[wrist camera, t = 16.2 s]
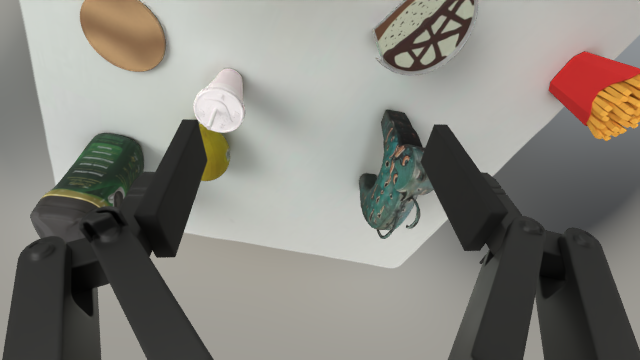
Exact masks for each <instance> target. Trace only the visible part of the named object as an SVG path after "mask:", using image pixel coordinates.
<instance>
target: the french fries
mask: <svg viewBox="0 0 640 360" xmlns="http://www.w3.org/2000/svg"><path fill="white" fill-rule="evenodd" d="M549 91H550V92H551V93H552V94H553V95H554V96H555V97H556V98H557V99H558V100H559V101H560V102H561V103H562V104H563V105H564V106H565V107H566V108H567V109H569V110H570V111H571V112H572V113H573V114H574V115H575V116H576V117H577V118H578V119H579V120H580V121H581V122H582V123H583V124H584V125H586V126H588V127H589V129H590V130H591V132H592V134H593V135H594V137H595V138H598V139H602V138H603V139H604V140H605V141H608V140H610V139H611V138H610V135H613V136H615V137H617V136H618V135H619V134H620V133H621V134H623V133H624V132H626V131H627V130H626V129H625V128H624V127H623V126H625V127H629V126H631V127H633V128H636V127H637V126H638V124H637V123H638V122H640V69H639V68H636V67H633V66H630V65H626V64H623V63H620V62H617V61H614V60H610V59H607V58H604V57H601V56H597V55H594V54H591V53H588V52H585V51H584V52H582V53H580V54H578V55H576V56H574V57H573V58H572V59H571V60H570V61H569V62H568V63H567V64H566V65H565V66H564V67H563V68H562V69H561V71H560V72H559V73H558V74H557V75H556V76H555V77H554V79H553V80H552V81H551V82H550V87H549ZM632 115H633V116H632ZM636 118H637V119H636ZM620 124H621V125H620ZM622 125H623V126H622ZM619 132H620V133H619Z"/></svg>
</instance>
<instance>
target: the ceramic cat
mask: <svg viewBox="0 0 640 360" xmlns="http://www.w3.org/2000/svg"><path fill="white" fill-rule="evenodd" d="M381 126H382V132H383V137H384V156H383V163H382V167H381V170H380V173H379V176H378V178H377V176H376V175H375V174H363V175H362V176H361V178H360V180H359V187H360V201H361V208H362V212H363V215H364V217H365V219H366V221H367V222H368V224H369V225H370V226H371V227H372V228H374V229H377V232H378V234H379V236H380V237H381V238H382V239H386V238H387V237H389V236H390V235H391V233H392V232H393V231H394V229H396V228H397V227H399V225H400V224H401V223H402V222H403V221H404V220H405V219H406V218H407V216H408V215H409V213H410V211H411V209H412V208H413V206H414V203H415V205H416V207H417V213H416V218H415V221H414V222H413V223H412V224H411V225H410V226H408V225H407V226H406V228H409V229H411V228H413V227H415V226H416V224H417V223H418V221H419V218H420V209H419V206H418V203H417V201H416V198H417V196H418V195H423V194H427V193H429V192H431V191H432V190H434V189H433V186H432V184H431V182H430V180H429V178H428V176H427V174H426V172H425V170H424V168H423V166H422V164H421V162H420V161H421V159H422V156H423V153H424V151H425V148H423V147H422V144H421V142H420V139H419V136H418V134H417V133H416V131H415V130H414V129H413V127H412V125H411V123H410V121H409V119H408V118H407V116H406V115H405V113H402V112H398V111H391V110H386V111H385V113H384V116H383V119H382V121H381ZM379 230H390V231H389V232H388V233H387V234H386V235H385V236H382V235H381V233H380V231H379Z"/></svg>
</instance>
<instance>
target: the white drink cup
mask: <svg viewBox="0 0 640 360" xmlns="http://www.w3.org/2000/svg"><path fill="white" fill-rule="evenodd" d="M193 109H194V113H195V116H196V118H197V119H198V121H199V122H200V123H201V124H202V125H203V126H205V127H206V128H207V129H208V130H212V131H215V132H220V133H226V132H231V131H234V130H236V129H237V128H238V127H239V126H240V125H241V124H242V122H243V119H244V117H245V106H244V103H243V80H242V77H241V75H240V74H239V73H238V72H237V71H236V70H234V69H230V68H227V69H223V70H222V71H220V73H219V74H218V75H217V76H216V77H215V78H214V79H213V81H212V82H211V83H210V84H209V85H208V86H207V87H206V88H204V89H202V90H201V91H200V92H199V93H198V94H197V96H196V98H195V101H194V105H193Z"/></svg>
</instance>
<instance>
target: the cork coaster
mask: <svg viewBox="0 0 640 360" xmlns="http://www.w3.org/2000/svg"><path fill="white" fill-rule="evenodd" d="M80 22H81V26H82V29H83V32H84V34H85V36H86V38H87V40H88V41H89V43H90V44H91V46H92V47H93V48H94V49H95V50H96V51H97V53H99V54H100V55H101V56H102V57H103V58H104V59H106V60H107V61H109V62H110V63H112V64H113V65H115V66H117V67H120V68H122V69H125V70H129V71H136V72H140V71H147V70H150V69H152V68H154V67H155V66H157V65H158V64H159V63H160V62H161V60H162V59H163V57H164V54H165V50H166V40H165V36H164V32H163V30H162V27H161V25H160V23H159V22H158V20H157V19H156V17H155V16H154V14H153V13H152V12H151V11H150V10H149V9H148V8H147V7H146V6H145V5H144V4H142V3H141V2H140V1H138V0H85V1H84V2H83V4H82V7H81V11H80Z"/></svg>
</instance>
